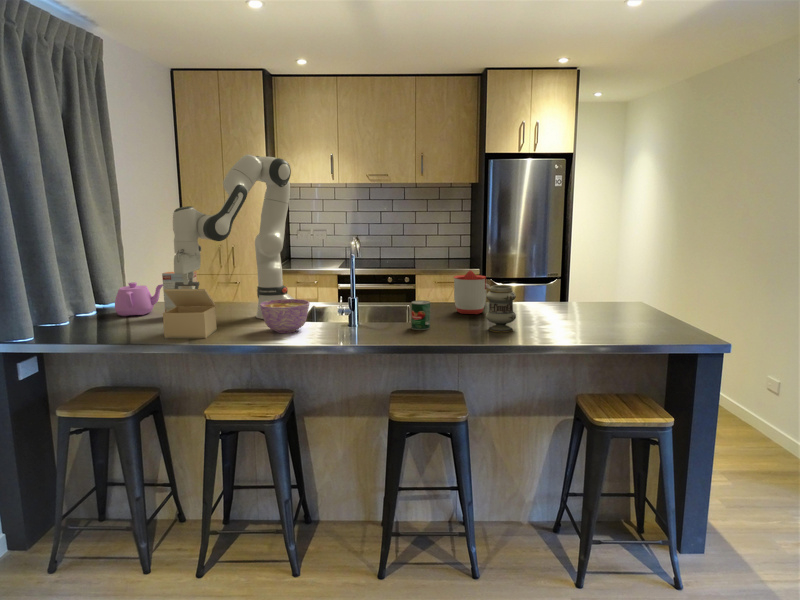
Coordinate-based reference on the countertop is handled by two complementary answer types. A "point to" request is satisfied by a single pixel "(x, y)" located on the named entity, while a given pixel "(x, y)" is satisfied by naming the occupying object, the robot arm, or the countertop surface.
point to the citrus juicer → (470, 293)
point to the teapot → (135, 300)
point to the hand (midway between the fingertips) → (188, 283)
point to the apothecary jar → (501, 307)
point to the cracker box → (169, 283)
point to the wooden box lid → (189, 295)
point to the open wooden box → (189, 322)
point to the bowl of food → (285, 314)
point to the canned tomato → (420, 315)
